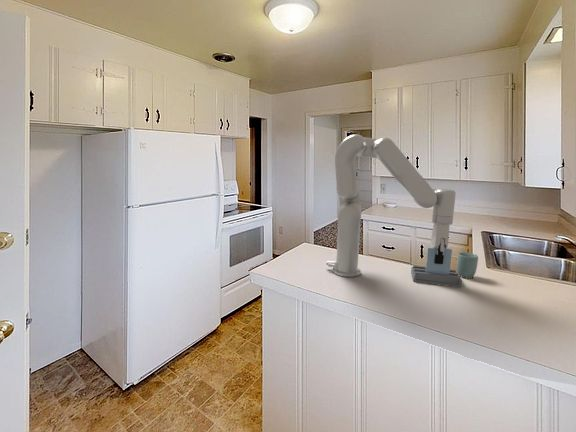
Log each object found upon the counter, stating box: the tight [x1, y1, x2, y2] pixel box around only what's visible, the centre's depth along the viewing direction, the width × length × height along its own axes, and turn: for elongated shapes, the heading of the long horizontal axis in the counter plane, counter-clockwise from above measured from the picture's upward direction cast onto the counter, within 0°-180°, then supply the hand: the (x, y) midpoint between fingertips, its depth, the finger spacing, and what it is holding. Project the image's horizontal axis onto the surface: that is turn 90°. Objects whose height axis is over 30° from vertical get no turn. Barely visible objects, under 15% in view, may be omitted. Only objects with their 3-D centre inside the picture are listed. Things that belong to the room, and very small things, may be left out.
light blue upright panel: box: [425, 246, 453, 275], centre depth 130 cm, size 9×2×11 cm, turn 74°
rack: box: [410, 264, 463, 288], centre depth 133 cm, size 18×11×4 cm, turn 74°
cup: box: [456, 251, 479, 279], centre depth 138 cm, size 8×8×10 cm
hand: (438, 262), depth 130 cm, fingers closed on light blue upright panel, 1 cm apart
